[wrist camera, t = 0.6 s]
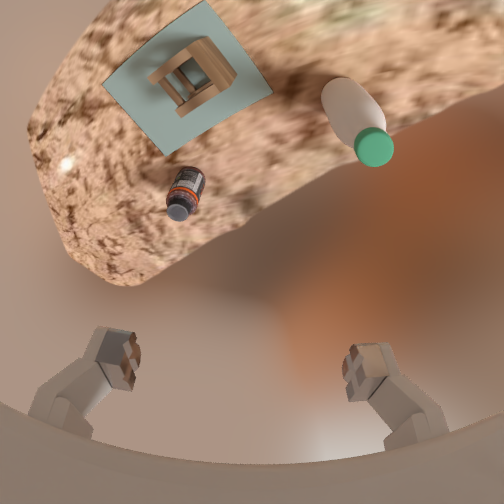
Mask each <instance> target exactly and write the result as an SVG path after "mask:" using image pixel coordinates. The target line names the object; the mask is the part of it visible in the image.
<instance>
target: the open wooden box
mask: <svg viewBox="0 0 504 504" xmlns="http://www.w3.org/2000/svg"><path fill="white" fill-rule="evenodd" d="M192 57H193V58H194V59H195V61H196V62H197V63H198V64H199V66H200V67H201V68H202V69H203V71H204V72H205V73H206V74H207V76H208V77H209V78H210V81H209V82H207V83H206V84H204V85H203V86H201V87H200V88H198V89H196V88H195V86H194V85H193V84H192V83H191V81H190V80H189V79H188V78H187V77H186V75H185V74H184V73H183V72H182V70H181V69H180V68H179V67H180V66H181V65H183V64H184V63H185V62H187V61H188V60H190V59H191V58H192ZM172 72H173V73H174V74H175V76H176V77H177V78H178V79H179V80H180V82H181V83H182V84H183V85H184V86H185V88H186V89H187V90H188V91H189V93H190V94H189V95H188V96H187V97H188V100H187V101H185V100H184V99H183V98H182V96H181V95H180V94H179V93H178V92H177V90H176V89H175V88H174V87H173V86H172V84H171V83H170V82H169V81H168V80H167V78H166V77H165V76H166V75H167V74H170V73H172ZM237 75H238V74H237V73H236V72H235V70H234V69H233V67H232V66H231V65H230V63H229V62H228V61H227V59H226V58H225V57H224V55H223V54H222V53H221V52H220V50H219V49H218V48H217V46H216V45H215V44H214V43H213V41H212V40H211V39H210V37H209V36H207V37H205V38H202V39H199V40H197V41H194V42H193V43H192V44H190V45H189V46H187V47H186V48H184V49H183V50H182V51H180V52H179V53H178V54H176V55H175V56H173V57H172V58H171V59H170V60H168V61H167V62H166V63H164V64H163V65H162V66H161V67H159V68H158V69H157V70H156V71H154V72H153V73H152V74H151V75H149V76H148V77H147V79H148V80H149V81H150V82H151V83H152V84H153V85H154V84H156V83H157V82H158V83H159V84H160V86H161V87H162V88H163V89H164V90H165V91H166V93H167V94H168V95H169V96H170V97H171V99H172V100H173V101H174V102H175V103H176V105H177V106H178V107H177V108H176V110H175V112H176V113H177V114H178V115H179V116H180V118H182V117H184V116H185V115H187V114H188V113H190V112H191V111H193V110H194V109H196V108H197V107H199V106H200V105H202V104H203V103H205V102H206V101H208V100H210V99H211V98H213V97H214V96H216V95H218V94H219V93H221V92H222V91H224V90H226V89H227V88H229V87H230V86H231V85H232V83H233V81H234V80H235V78H236V76H237Z"/></svg>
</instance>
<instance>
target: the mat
mask: <svg viewBox="0 0 504 504" xmlns="http://www.w3.org/2000/svg"><path fill="white" fill-rule="evenodd" d="M207 36H209V37H210V39H211V40H212V41H213V43H214V44H215V45H216V46H217V48H218V49H219V50H220V52H221V53H222V54H223V55H224V57H225V58H226V59H227V61H228V62H229V63H230V65H231V66H232V67H233V69H234V70H235V72H236V73H237V74H238V75H237V76H236V78H235V80H234V81H233V83H232V85H231V86H230V87H229V88H227V89H226V90H224V91H222V92H221V93H219V94H218V95H216V96H214V97H213V98H211V99H210V100H208V101H206V102H205V103H203V104H202V105H200V106H199V107H197V108H196V109H194V110H193V111H191V112H190V113H188V114H187V115H185V116H184V117H182V118H180V116H179V115H178V114H177V113H176V112H175V110H176V108H177V107H178V106H177V105H176V103H175V102H174V101H173V100H172V99H171V97H170V96H169V95H168V94H167V93H166V91H165V90H164V89H163V88H162V87H161V86H160V84H159V83H158V82H157V83H156V84H154V85H153V84H152V83H151V82H150V81H149V80H148V79H147V77H148V76H149V75H151V74H152V73H153V72H154V71H156V70H157V69H158V68H159V67H161V66H162V65H163V64H164V63H166V62H167V61H168V60H170V59H171V58H172V57H173V56H175V55H176V54H178V53H179V52H180V51H182V50H183V49H184V48H186V47H187V46H189V45H190V44H192V43H193V42H194V41H197V40H199V39H202V38H205V37H207ZM179 68H180V69H181V70H182V72H183V73H184V74H185V75H186V77H187V78H188V79H189V80H190V81H191V83H192V84H193V85H194V86H195V88H196V89H198V88H200V87H201V86H203V85H204V84H206V83H207V82H209V81H210V78H209V77H208V76H207V74H206V73H205V72H204V71H203V69H202V68H201V67H200V66H199V64H198V63H197V62H196V61H195V59H194V58H193V57H192V58H191V59H190V60H188V61H187V62H185V63H184V64H183V65H181V66H180V67H179ZM165 77H166V78H167V80H168V81H169V82H170V83H171V84H172V86H173V87H174V88H175V89H176V90H177V92H178V93H179V94H180V95H181V96H182V98H183V99H184V100H185V101H187V100H188V97H187V96H188V95H189V94H190V93H189V91H188V90H187V89H186V88H185V86H184V85H183V84H182V83H181V82H180V80H179V79H178V78H177V77H176V76H175V74H174V73H173V72H172V73H170V74H167V75H166V76H165ZM102 85H103V86H104V88H105V89H106V90H107V91H108V92H109V93H110V94H111V95H112V97H113V98H114V99H115V100H116V101H117V102H118V103H119V104H120V106H121V107H122V108H123V109H124V110H125V111H126V112H127V113H128V115H129V116H130V117H131V118H132V119H133V120H134V121H135V122H136V124H137V125H138V126H139V127H140V128H141V129H142V130H143V131H144V133H145V134H146V135H147V136H148V137H149V138H150V139H151V140H152V142H153V143H154V144H155V145H156V146H157V147H158V148H159V149H160V151H161V152H162V153H163V154H164V155H165V156H168V155H169V154H171V153H172V152H174V151H175V150H177V149H178V148H180V147H181V146H183V145H184V144H186V143H187V142H189V141H190V140H192V139H193V138H195V137H197V136H198V135H200V134H201V133H203V132H205V131H206V130H208V129H209V128H211V127H213V126H214V125H216V124H218V123H219V122H221V121H223V120H224V119H226V118H228V117H230V116H231V115H233V114H235V113H237V112H238V111H240V110H242V109H244V108H246V107H247V106H249V105H251V104H253V103H255V102H257V101H259V100H260V99H262V98H264V97H266V96H268V95H270V94H272V93H273V91H272V89H271V88H270V86H269V85H268V83H267V82H266V80H265V79H264V77H263V76H262V74H261V73H260V72H259V70H258V69H257V67H256V66H255V64H254V63H253V62H252V60H251V59H250V57H249V56H248V55H247V53H246V52H245V50H244V49H243V48H242V46H241V45H240V44H239V42H238V41H237V40H236V38H235V37H234V36H233V34H232V33H231V32H230V30H229V29H228V28H227V27H226V25H225V24H224V23H223V21H222V20H221V19H220V18H219V16H218V15H217V14H216V13H215V11H214V10H213V9H212V8H211V7H210V5H209V4H208V3H207V2H206V1H205V0H204V1H202V2H201V3H199V4H198V5H196V6H195V7H193V8H192V9H190V10H189V11H187V12H186V13H184V14H183V15H182V16H180V17H179V18H178V19H176V20H175V21H173V22H172V23H171V24H169V25H168V26H167V27H165V28H164V29H163V30H162V31H160V32H159V33H158V34H157V35H155V36H154V37H153V38H152V39H150V40H149V41H148V42H147V43H146V44H144V45H143V46H142V47H141V48H140V49H139V50H138V51H136V52H135V53H134V54H133V55H132V56H131V57H130V58H129V59H128V60H126V61H125V62H124V63H123V64H122V65H121V66H120V67H119V68H118V69H117V70H116V71H115V72H114V73H113V74H112V75H111V76H110V77H109V78H108V79H107V80H106V81H105V82H104V83H103V84H102Z"/></svg>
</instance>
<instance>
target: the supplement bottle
mask: <svg viewBox="0 0 504 504" xmlns="http://www.w3.org/2000/svg"><path fill="white" fill-rule="evenodd" d="M204 186H205V176H204V174H203V173H202V172H201V171H200V170H199V169H197V168H194V167H186V168H184V169H182V170H181V171H180V172H179V173H178V175H177V177H176V179H175V181H174V183H173V185H172V187H171V189H170V191H169V193H168V195H167V198H166V204H167V207H168V208H167V214H168V216H169V217H170V218H171V219H172V220H175V221H179V222H180V221H184V220H186V219H187V218H188V215H191V214H192V213H194V212H195V210H196V208H197V205H198V203H199V200H200V197H201V194H202V191H203V188H204Z"/></svg>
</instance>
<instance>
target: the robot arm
mask: <svg viewBox="0 0 504 504" xmlns="http://www.w3.org/2000/svg"><path fill="white" fill-rule="evenodd" d="M136 339H137V337H136V334H135V332H129V331H124V330H118V329H113V328H108V327H103V326H98V327H97V328H96V329H95V331H94V333H93V335H92V337H91V340H90V342H89V344H88V346H87V348H86V351H85V353H84V355H83V358H78V359H77V360H75V361H74V362H73V363H71V364H70V365H69V366H67V367H66V368H65V369H63V370H62V371H60V372H59V373H58V374H56V375H55V376H54V377H52V378H51V379H50V380H48V381H47V382H46V383H44V384H43V385H42V386H41V387H39V388H38V390H37V392H36V395H35V397H34V400H33V402H32V405H31V407H30V410H29V413H28V415H26V414H24V413H22V412H19V411H17V410H15V409H13V408H11V407H9V406H7V405H5V404H4V403H2V402H0V504H504V411H500V412H498V413H496V414H493V415H491V416H489V417H487V418H485V419H482V420H480V421H478V422H476V423H473V424H471V425H468V426H466V427H463V428H461V429H458V430H455V431H452V432H449V429H448V426H447V423H446V420H445V417H444V414H443V411H442V409H441V406H440V405H438V404H437V403H436V402H435V401H434V400H433V399H432V398H430V397H429V396H428V395H427V394H426V393H425V392H424V391H423V390H421V389H420V388H419V387H418V386H417V385H416V384H414V383H413V382H412V381H411V380H410V379H409V378H408V377H407V376H405V375H401V373H400V370H399V367H398V365H397V362H396V360H395V357H394V354H393V351H392V349H391V346H390V344H389V343H387V342H386V343H364V344H353V345H352V346H351V347H350V349H349V351H350V354H349V355H347V356H346V357H345V359H344V361H343V365H342V373H343V378H344V380H345V381H347V382H348V384H347V387H346V392H347V396H348V401H349V402H355V401H366V400H368V403H369V404H370V405H371V406H372V407H373V409H374V410H375V411H376V412H377V413H378V414H379V416H380V417H381V418H382V419H383V420H384V422H385V423H386V424H387V425H388V426H389V427H390V429H391V430H392V431H393V432H392V433H391V434H390V435H389V436H387V437H386V438H385V439H384V446H385V451H384V452H378V453H373V454H368V455H363V456H357V457H351V458H344V459H337V460H329V461H320V462H309V463H295V464H265V465H264V464H261V465H260V464H259V465H258V464H257V465H255V464H226V463H212V462H201V461H192V460H184V459H176V458H170V457H164V456H158V455H152V454H147V453H142V452H138V451H133V450H129V449H124V448H120V447H116V446H112V445H109V444H105V443H102V442H98V441H95V440H91V437H92V433H93V427H92V426H91V425H90V424H89V422H88V421H87V420H86V419H85V418H84V417H85V416H86V415H87V414H88V413H89V412H90V411H91V410H92V409H93V408H94V407H95V406H96V405H97V404H98V403H99V402H100V401H101V400H102V399H103V398H104V397H105V396H106V395H107V394H108V393H109V392H110V391H111V390H112V388H114V389H120V390H125V391H131V392H132V390H133V387H134V383H135V379H136V376H135V374H134V371H136V370H137V369H138V368H139V364H140V358H141V351H140V347H139V345H138V344H137V343H136Z"/></svg>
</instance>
